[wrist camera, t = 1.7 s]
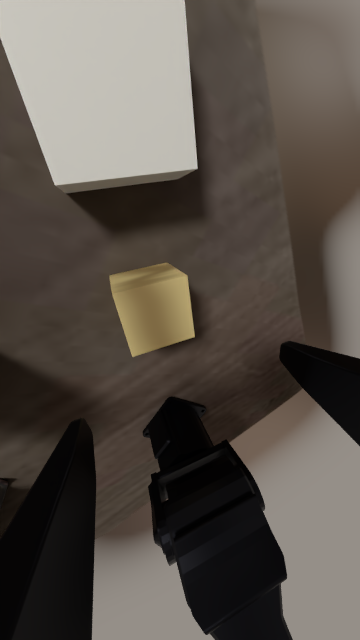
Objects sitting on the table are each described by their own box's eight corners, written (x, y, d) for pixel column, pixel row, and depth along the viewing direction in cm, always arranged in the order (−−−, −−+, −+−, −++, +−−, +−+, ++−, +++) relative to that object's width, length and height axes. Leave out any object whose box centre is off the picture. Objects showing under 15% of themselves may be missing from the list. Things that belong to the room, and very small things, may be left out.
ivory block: (156, 13, 12) (178, -72, 8) (176, 179, 16) (197, 168, 12) (-2, 2, 10) (-55, -112, 6) (66, 193, 14) (55, 185, 10)
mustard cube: (166, 262, 18) (187, 275, 14) (175, 312, 20) (194, 336, 16) (109, 275, 17) (112, 293, 12) (125, 326, 19) (132, 357, 15)
